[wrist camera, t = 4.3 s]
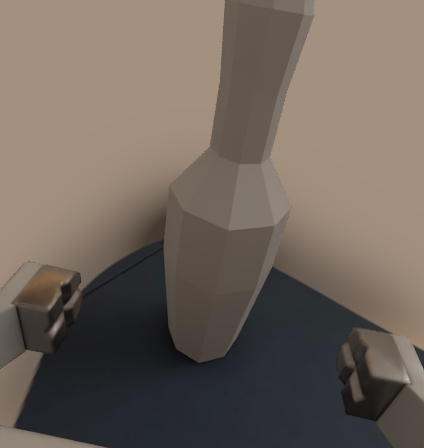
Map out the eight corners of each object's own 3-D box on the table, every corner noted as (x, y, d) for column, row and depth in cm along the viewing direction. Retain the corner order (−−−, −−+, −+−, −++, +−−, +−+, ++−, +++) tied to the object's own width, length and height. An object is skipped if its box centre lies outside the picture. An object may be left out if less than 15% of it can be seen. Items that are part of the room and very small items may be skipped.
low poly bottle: (194, 392, 21) (298, -79, 9) (140, 322, 25) (162, -79, 13) (264, 343, 25) (401, -35, 13) (207, 289, 29) (274, -44, 17)
